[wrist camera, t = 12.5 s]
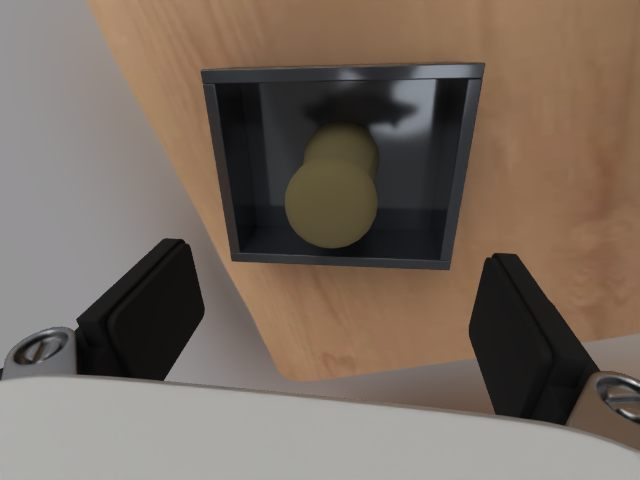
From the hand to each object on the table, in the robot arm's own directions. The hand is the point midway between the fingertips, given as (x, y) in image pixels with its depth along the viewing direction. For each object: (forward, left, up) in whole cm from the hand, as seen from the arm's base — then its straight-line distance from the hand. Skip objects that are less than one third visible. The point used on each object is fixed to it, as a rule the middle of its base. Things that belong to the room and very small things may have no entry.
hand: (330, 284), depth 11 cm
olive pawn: (+1, -1, -19) cm, 19 cm away
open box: (+1, -1, -19) cm, 19 cm away
